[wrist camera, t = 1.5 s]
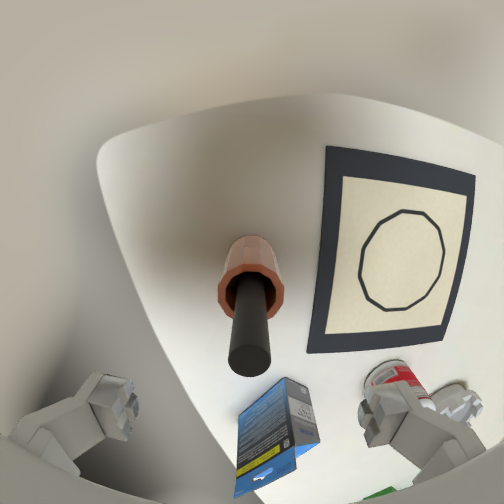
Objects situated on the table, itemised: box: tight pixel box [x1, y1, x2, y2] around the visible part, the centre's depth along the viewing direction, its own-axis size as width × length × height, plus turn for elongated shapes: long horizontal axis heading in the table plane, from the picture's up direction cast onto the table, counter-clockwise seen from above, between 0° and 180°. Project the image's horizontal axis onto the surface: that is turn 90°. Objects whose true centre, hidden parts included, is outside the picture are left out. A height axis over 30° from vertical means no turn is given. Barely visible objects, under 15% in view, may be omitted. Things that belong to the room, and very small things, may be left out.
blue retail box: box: [234, 377, 320, 499], centre depth 23 cm, size 9×4×12 cm, turn 144°
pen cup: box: [218, 235, 284, 320], centre depth 20 cm, size 4×4×8 cm
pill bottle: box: [365, 360, 436, 411], centre depth 23 cm, size 6×6×11 cm
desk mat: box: [307, 146, 476, 354], centre depth 24 cm, size 20×18×1 cm
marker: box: [228, 271, 271, 377], centre depth 17 cm, size 2×2×14 cm
